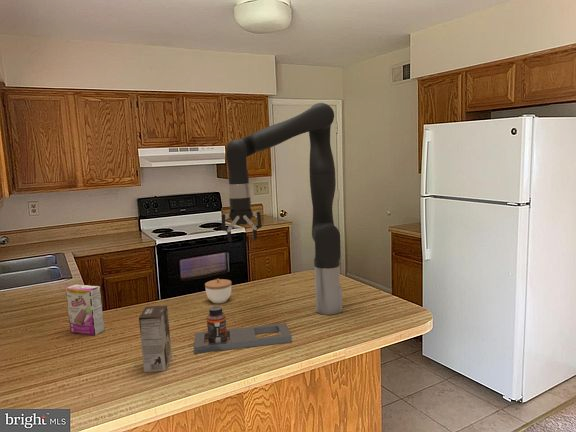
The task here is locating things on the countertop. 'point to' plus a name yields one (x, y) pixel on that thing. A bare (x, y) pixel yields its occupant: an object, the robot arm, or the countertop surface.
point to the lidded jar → (218, 290)
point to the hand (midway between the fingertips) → (242, 241)
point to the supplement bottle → (216, 325)
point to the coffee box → (155, 338)
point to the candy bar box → (85, 309)
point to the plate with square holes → (243, 338)
